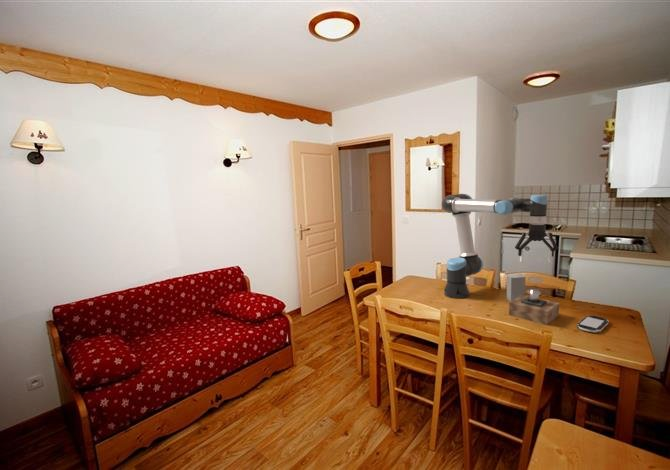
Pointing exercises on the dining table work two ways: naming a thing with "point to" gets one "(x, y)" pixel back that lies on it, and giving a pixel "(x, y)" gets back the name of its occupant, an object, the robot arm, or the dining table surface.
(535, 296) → the peg
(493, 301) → the dining table surface
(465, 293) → the robot arm
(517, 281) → the skincare box
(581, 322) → the gaming console
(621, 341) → the dining table surface
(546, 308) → the socket block
